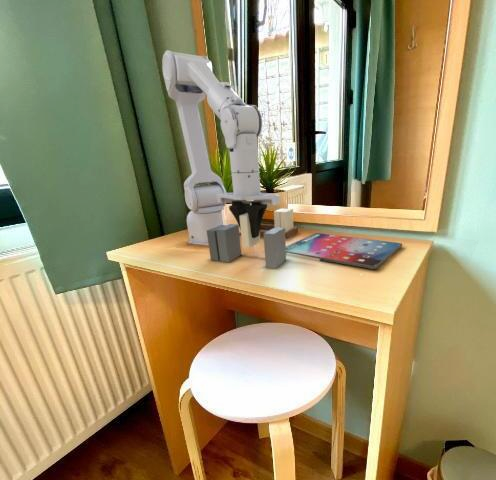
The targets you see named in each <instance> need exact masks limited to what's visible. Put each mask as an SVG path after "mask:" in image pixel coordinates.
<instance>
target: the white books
mask: <svg viewBox="0 0 496 480" xmlns="http://www.w3.org/2000/svg"><path fill="white" fill-rule="evenodd" d="M273 223H274V224H273V225H274V226H275V227H280V228H285V233H286V232H288V231H289V230H291V229H293V228H294V227H293V226H294V208H278V209H276V210H273Z"/></svg>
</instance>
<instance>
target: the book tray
mask: <svg viewBox="0 0 496 480" xmlns="http://www.w3.org/2000/svg"><path fill="white" fill-rule="evenodd" d="M293 227H294V228H293V229H291V230H289V231H288V232H286V233H285V240H287V239H289V238H291V237H292V236H293V235H295V234H297V233H298V232H299V226H296V225H295V226H294V225H293ZM273 228H275V226H274V224H267V223H266V224H265V223H261V226H260V237H263V238H264V233H265V232H267V231H269V230H271V229H273Z"/></svg>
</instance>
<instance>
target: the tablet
mask: <svg viewBox="0 0 496 480" xmlns="http://www.w3.org/2000/svg"><path fill="white" fill-rule="evenodd" d="M402 247H403V243H401V242H396V241H388V240H379V239H370V238H363V237H355V236H354V237H353V236H346V235H340V234H339V235H338V234H329V233H323V232H322V233H321V232H315V233H313V234H310V235H308V236H306V237H304V238H302V239H299V240H298V241H295V242H293V243H291V244H288V245H286V254H293V255H298V256H304V257H309V258H314V259H319V260H320V261H325V262H331V263H336V264H342V265H348V266H354V267H360V268H363V269H369V270H376V269H378V268H379V267H380V266H382V265H383V264H384V263H385V262H386V261H387V260H388V259H389V258H391V257H392V256H393V255H394V254H395V253H396V252H397V251H398V250H400V249H401V248H402Z"/></svg>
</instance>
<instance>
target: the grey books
mask: <svg viewBox="0 0 496 480" xmlns="http://www.w3.org/2000/svg"><path fill="white" fill-rule="evenodd" d="M207 237H208V244H209V245H208V249H209V257H210V261H214V262H222V263H230V262H232V261H234V260H236V259H237V258H239V257H241V256H242V243H241V233H240V227H239V225H238V223H237V224H235V223H229V224H223V225H220V226H217V227H214V228H212V229H209V230H207ZM263 245H264V246H263V247H264V258H265V261H264V262H265V268H268V269H274V270H275V269H277V268H279V266H281V265H282V264H284V263H286V261H287V252H286V246H287V244H286V239H285V228H280V227H275V228H273V229H271V230H269V231H267V232H265V233H264V237H263Z"/></svg>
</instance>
